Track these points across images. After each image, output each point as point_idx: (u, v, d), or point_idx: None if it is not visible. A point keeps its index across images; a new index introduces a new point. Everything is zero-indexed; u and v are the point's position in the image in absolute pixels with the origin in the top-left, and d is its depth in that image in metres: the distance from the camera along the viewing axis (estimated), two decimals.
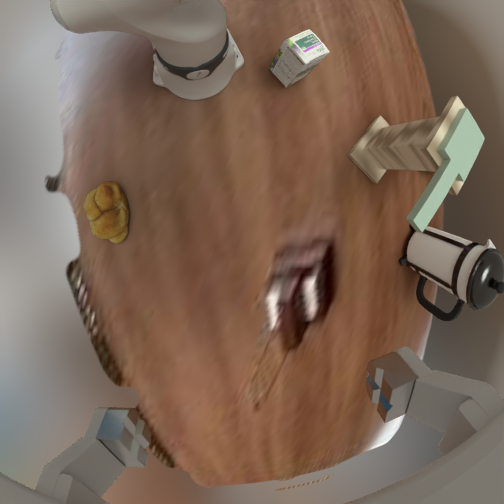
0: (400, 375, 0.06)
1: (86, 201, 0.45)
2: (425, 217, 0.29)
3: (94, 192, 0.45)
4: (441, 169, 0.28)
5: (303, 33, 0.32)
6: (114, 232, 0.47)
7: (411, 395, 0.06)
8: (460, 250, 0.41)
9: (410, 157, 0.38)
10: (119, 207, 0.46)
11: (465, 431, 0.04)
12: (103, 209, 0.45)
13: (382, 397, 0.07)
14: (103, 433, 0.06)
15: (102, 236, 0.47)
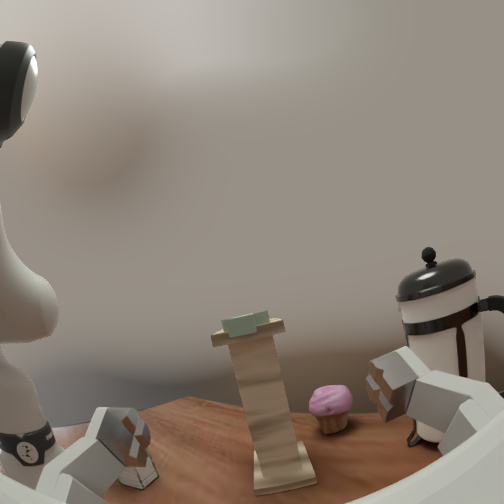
0: (400, 375, 0.06)
1: None
2: None
3: None
4: None
5: None
6: None
7: (411, 395, 0.06)
8: (409, 339, 0.30)
9: (261, 397, 0.33)
10: None
11: (465, 431, 0.04)
12: None
13: (382, 397, 0.07)
14: (104, 433, 0.06)
15: None
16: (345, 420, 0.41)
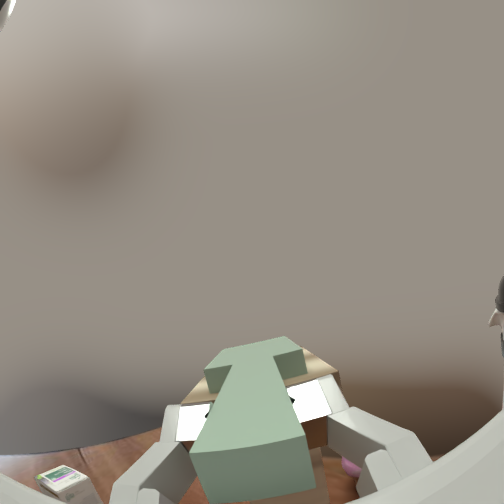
0: (311, 407, 0.06)
1: None
2: (255, 416, 0.06)
3: None
4: None
5: (55, 468, 0.17)
6: None
7: (328, 429, 0.06)
8: None
9: None
10: None
11: (370, 484, 0.04)
12: None
13: None
14: (185, 434, 0.06)
15: None
16: None
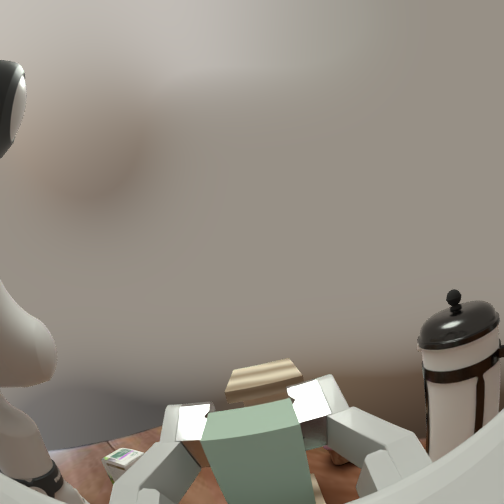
0: (311, 408, 0.06)
1: None
2: None
3: None
4: None
5: (116, 451, 0.31)
6: None
7: (327, 429, 0.06)
8: (429, 384, 0.26)
9: None
10: None
11: (370, 484, 0.04)
12: None
13: None
14: (185, 434, 0.06)
15: None
16: None
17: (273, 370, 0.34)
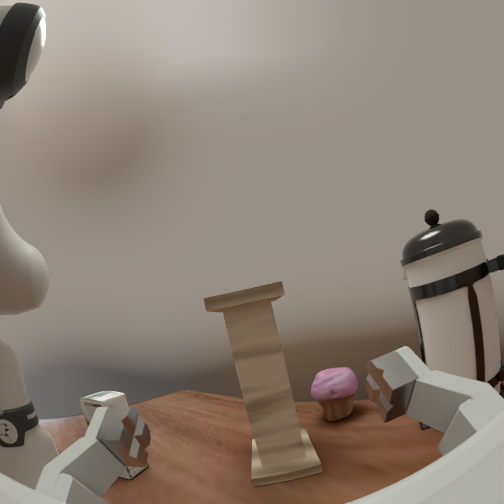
0: (400, 375, 0.06)
1: None
2: None
3: None
4: None
5: (96, 393, 0.34)
6: None
7: (411, 394, 0.06)
8: (418, 305, 0.29)
9: (259, 371, 0.31)
10: None
11: (465, 431, 0.04)
12: None
13: (382, 397, 0.07)
14: (103, 433, 0.06)
15: None
16: (350, 405, 0.39)
17: None
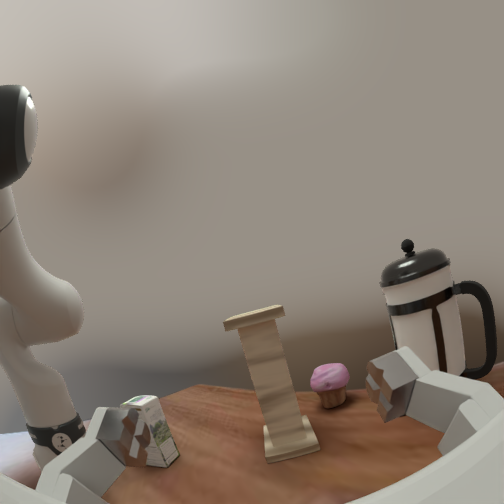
0: (400, 375, 0.06)
1: None
2: None
3: None
4: None
5: (132, 398, 0.43)
6: None
7: (411, 394, 0.06)
8: (392, 319, 0.37)
9: (268, 373, 0.40)
10: None
11: (465, 431, 0.04)
12: None
13: (382, 397, 0.07)
14: (103, 433, 0.06)
15: None
16: (343, 395, 0.49)
17: (262, 309, 0.45)
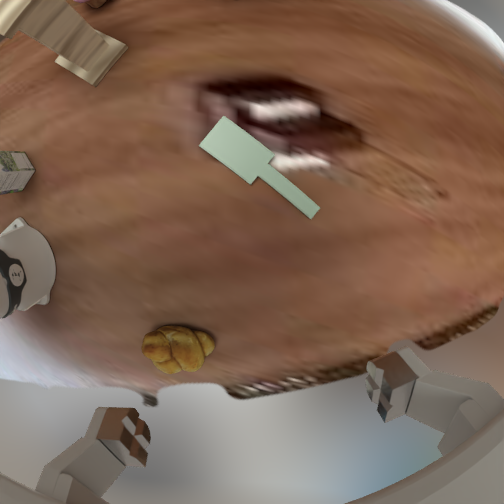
0: (400, 375, 0.06)
1: (160, 369, 0.44)
2: (308, 205, 0.42)
3: (152, 359, 0.44)
4: (267, 183, 0.41)
5: None
6: (197, 351, 0.43)
7: (412, 395, 0.06)
8: None
9: (58, 28, 0.18)
10: (170, 339, 0.43)
11: (465, 431, 0.04)
12: (169, 357, 0.42)
13: (382, 397, 0.07)
14: (104, 433, 0.06)
15: (199, 364, 0.44)
16: None
17: None
